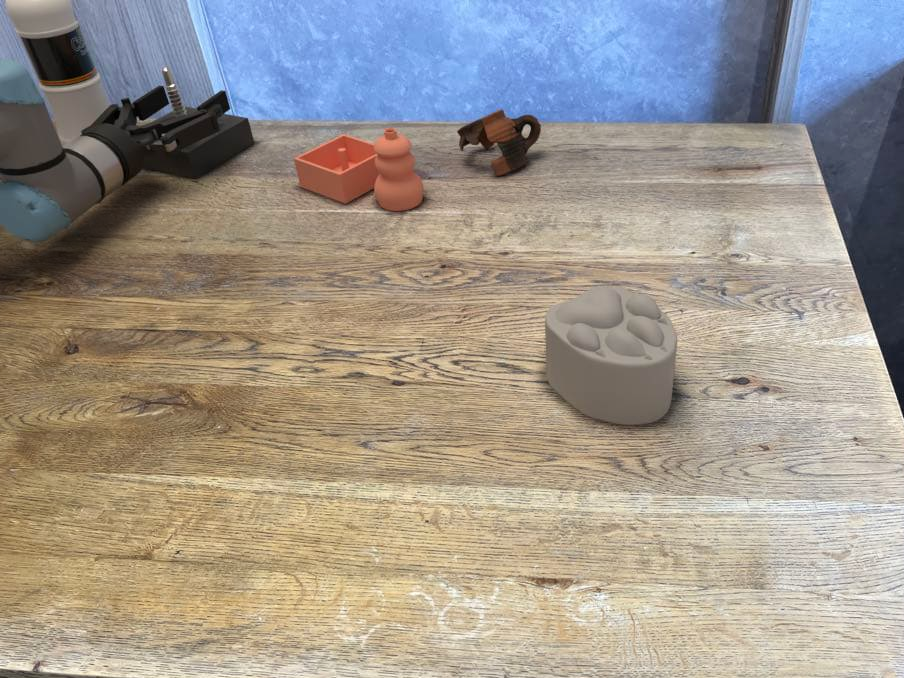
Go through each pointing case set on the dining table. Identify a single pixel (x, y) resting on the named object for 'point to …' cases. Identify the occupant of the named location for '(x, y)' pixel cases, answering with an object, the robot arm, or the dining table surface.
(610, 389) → the lumpy-topped squat cylinder
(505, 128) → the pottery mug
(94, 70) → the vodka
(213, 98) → the robot arm
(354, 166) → the pottery
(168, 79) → the screw
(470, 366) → the dining table surface
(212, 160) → the hole plate
